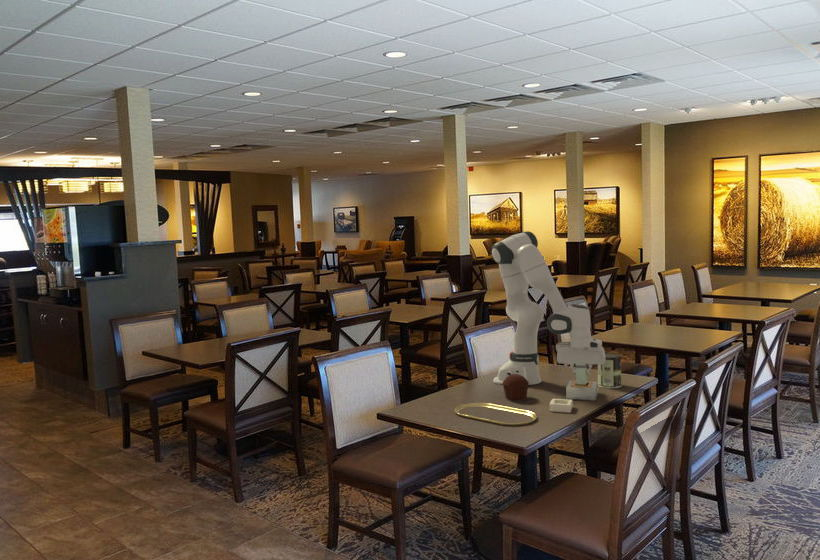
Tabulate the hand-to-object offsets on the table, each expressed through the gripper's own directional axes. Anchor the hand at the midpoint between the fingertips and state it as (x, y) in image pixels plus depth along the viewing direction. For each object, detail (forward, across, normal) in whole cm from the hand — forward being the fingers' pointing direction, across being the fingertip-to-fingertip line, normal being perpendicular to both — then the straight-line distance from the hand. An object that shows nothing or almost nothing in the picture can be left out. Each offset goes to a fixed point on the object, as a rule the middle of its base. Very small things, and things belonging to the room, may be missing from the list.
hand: (581, 373), depth 275 cm
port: (+10, 0, 0) cm, 10 cm away
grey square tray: (+9, -6, -22) cm, 24 cm away
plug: (+4, 0, 0) cm, 4 cm away
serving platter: (+10, -29, -36) cm, 48 cm away
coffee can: (+10, +10, +20) cm, 25 cm away
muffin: (+9, -27, -9) cm, 30 cm away
